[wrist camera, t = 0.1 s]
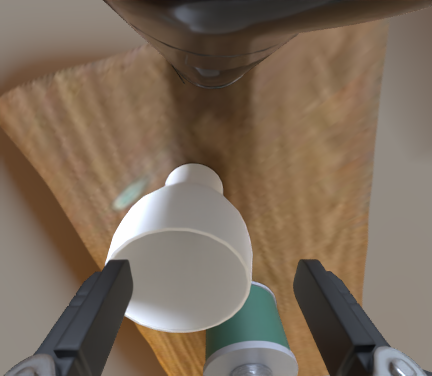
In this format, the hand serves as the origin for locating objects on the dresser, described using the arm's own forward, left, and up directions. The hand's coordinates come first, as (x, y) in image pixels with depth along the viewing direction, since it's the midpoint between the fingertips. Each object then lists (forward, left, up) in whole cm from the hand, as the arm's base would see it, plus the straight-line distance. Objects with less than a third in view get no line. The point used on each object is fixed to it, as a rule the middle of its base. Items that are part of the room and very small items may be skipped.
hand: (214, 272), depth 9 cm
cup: (+4, -2, -17) cm, 18 cm away
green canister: (+27, +6, -17) cm, 32 cm away
